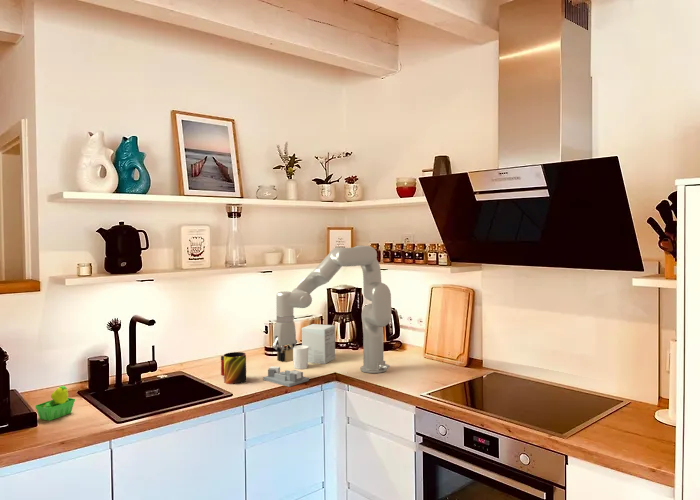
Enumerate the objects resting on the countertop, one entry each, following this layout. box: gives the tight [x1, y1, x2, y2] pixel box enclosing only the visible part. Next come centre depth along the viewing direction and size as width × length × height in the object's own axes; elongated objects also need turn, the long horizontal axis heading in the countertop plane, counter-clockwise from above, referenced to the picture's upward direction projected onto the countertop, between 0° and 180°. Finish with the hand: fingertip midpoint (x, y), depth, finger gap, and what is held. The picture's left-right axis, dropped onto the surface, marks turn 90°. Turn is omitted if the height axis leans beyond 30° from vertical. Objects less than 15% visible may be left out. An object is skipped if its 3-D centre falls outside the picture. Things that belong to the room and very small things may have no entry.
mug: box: [220, 351, 247, 385], centre depth 237 cm, size 10×14×12 cm
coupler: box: [276, 347, 293, 363], centre depth 237 cm, size 6×4×5 cm, turn 50°
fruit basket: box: [34, 385, 76, 422], centre depth 193 cm, size 11×9×11 cm
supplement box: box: [301, 323, 336, 365], centre depth 274 cm, size 13×13×18 cm
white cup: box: [293, 344, 309, 370], centre depth 260 cm, size 8×8×10 cm
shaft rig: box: [262, 365, 310, 388], centre depth 238 cm, size 18×12×5 cm
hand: (285, 359), depth 237 cm, fingers closed on coupler, 4 cm apart
